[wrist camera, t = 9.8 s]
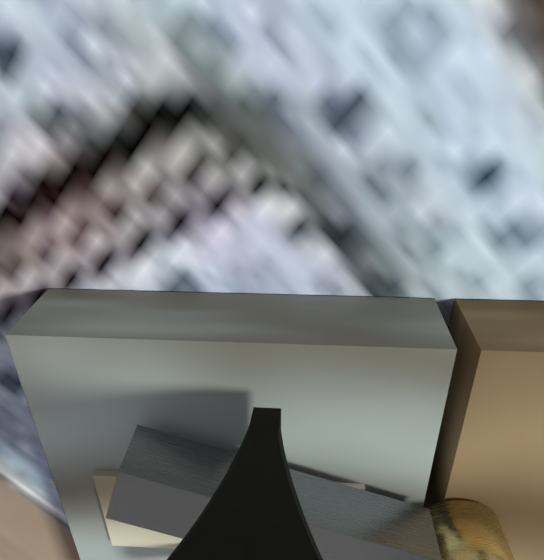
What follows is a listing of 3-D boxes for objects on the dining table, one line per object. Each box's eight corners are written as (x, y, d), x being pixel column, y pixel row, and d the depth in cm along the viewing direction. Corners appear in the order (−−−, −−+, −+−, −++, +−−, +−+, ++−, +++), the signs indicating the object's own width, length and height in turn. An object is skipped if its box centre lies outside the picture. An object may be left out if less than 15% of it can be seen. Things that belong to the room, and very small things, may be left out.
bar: (518, 514, 15) (556, 604, 13) (471, 563, 16) (498, 652, 14) (144, 404, 14) (112, 482, 11) (127, 466, 15) (94, 547, 13)
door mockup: (676, 590, 20) (770, 739, 16) (120, 556, 22) (75, 684, 18) (870, 309, 14) (1119, 440, 9) (48, 288, 15) (-52, 393, 11)
